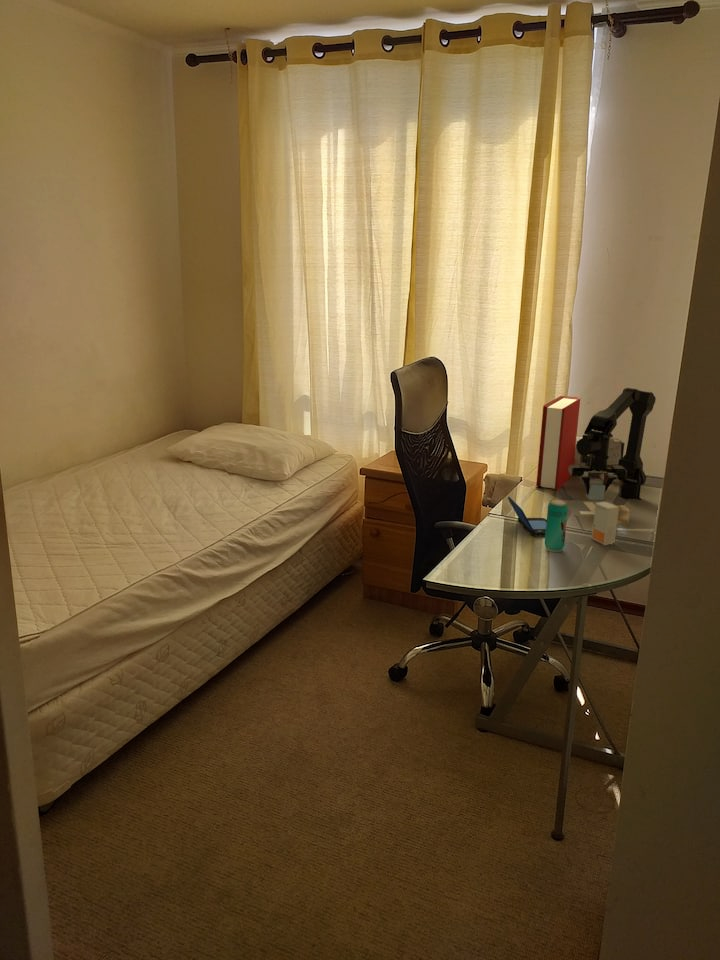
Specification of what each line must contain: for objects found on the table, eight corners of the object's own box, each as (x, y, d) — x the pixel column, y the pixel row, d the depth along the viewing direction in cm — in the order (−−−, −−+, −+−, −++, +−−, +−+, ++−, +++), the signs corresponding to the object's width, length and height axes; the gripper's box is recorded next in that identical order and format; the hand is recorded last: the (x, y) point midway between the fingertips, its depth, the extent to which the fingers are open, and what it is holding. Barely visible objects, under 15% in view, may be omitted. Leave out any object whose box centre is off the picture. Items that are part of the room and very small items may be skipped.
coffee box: (620, 482, 295) (625, 443, 291) (604, 482, 296) (608, 442, 291) (613, 476, 304) (617, 438, 300) (597, 476, 304) (601, 437, 300)
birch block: (622, 521, 250) (624, 505, 248) (627, 526, 245) (629, 510, 243) (606, 520, 250) (607, 505, 248) (611, 526, 245) (612, 510, 243)
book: (556, 490, 283) (564, 407, 274) (536, 487, 286) (543, 405, 278) (573, 474, 306) (581, 397, 297) (554, 471, 310) (561, 395, 301)
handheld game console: (560, 537, 234) (563, 509, 231) (518, 538, 232) (521, 509, 230) (544, 521, 249) (546, 494, 246) (505, 521, 247) (507, 495, 245)
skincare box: (590, 539, 232) (594, 502, 229) (601, 537, 233) (605, 501, 230) (604, 545, 226) (608, 508, 223) (615, 544, 228) (619, 506, 225)
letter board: (610, 502, 269) (611, 501, 269) (627, 518, 252) (627, 517, 252) (561, 501, 269) (561, 499, 269) (573, 517, 252) (574, 515, 252)
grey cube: (599, 495, 262) (601, 481, 260) (603, 499, 257) (605, 485, 256) (585, 495, 262) (586, 481, 261) (589, 499, 257) (590, 485, 256)
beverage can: (560, 554, 219) (565, 506, 215) (541, 550, 222) (545, 502, 217) (566, 548, 223) (571, 501, 219) (547, 544, 226) (552, 497, 222)
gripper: (619, 446, 263) (614, 488, 267) (566, 445, 263) (562, 487, 267) (629, 453, 252) (624, 497, 256) (574, 452, 252) (570, 496, 256)
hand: (594, 494), depth 259 cm, fingers closed on grey cube, 5 cm apart
